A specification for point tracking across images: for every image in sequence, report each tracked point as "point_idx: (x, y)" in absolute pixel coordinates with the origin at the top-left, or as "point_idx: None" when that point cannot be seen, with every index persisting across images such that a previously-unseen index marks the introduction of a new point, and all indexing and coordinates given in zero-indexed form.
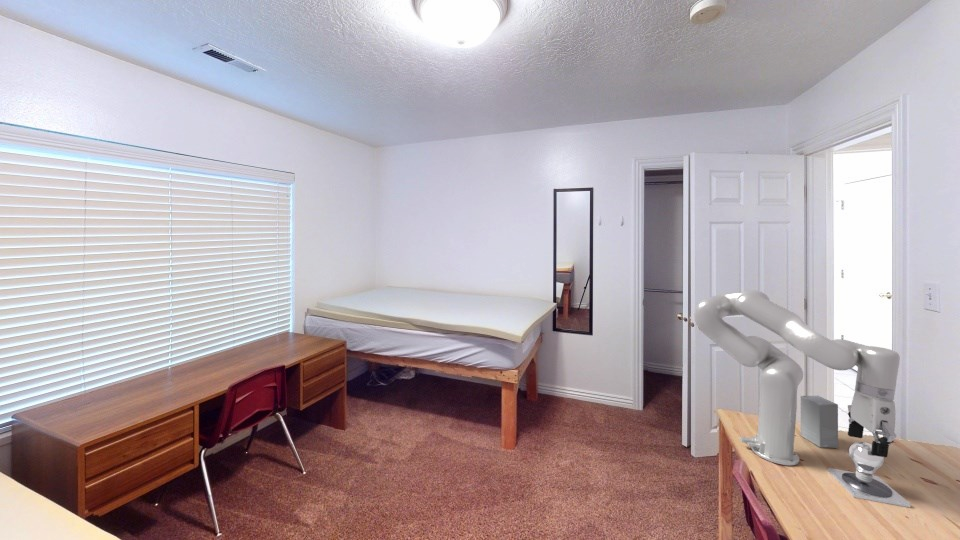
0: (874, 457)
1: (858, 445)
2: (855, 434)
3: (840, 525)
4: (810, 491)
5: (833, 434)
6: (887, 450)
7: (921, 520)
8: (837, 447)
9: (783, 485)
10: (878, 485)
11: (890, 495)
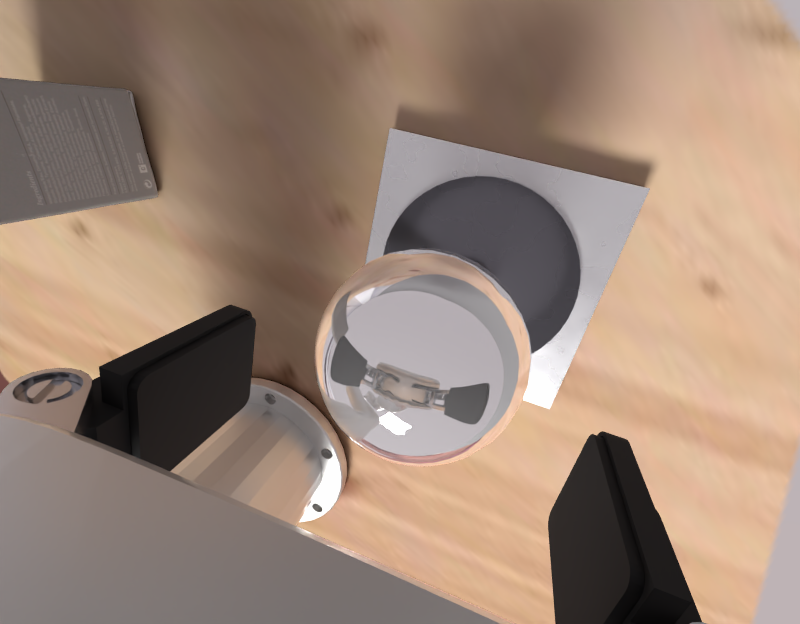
0: (515, 407)
1: (394, 461)
2: (232, 381)
3: (717, 605)
4: (510, 525)
5: (57, 119)
6: (649, 507)
7: (752, 235)
8: (130, 92)
9: (476, 578)
10: (487, 224)
11: (576, 244)
